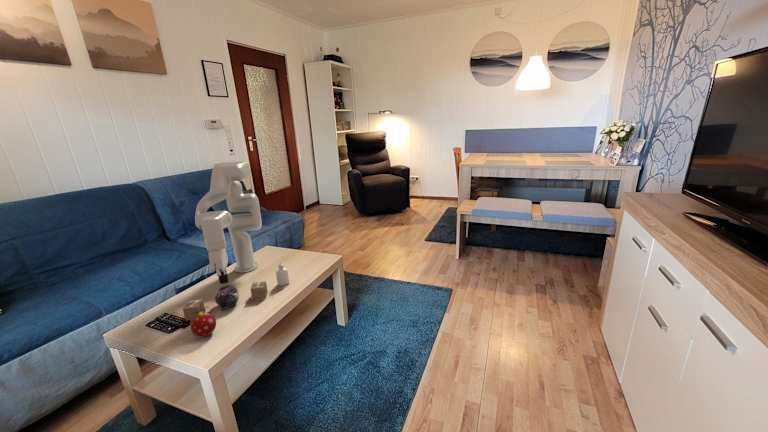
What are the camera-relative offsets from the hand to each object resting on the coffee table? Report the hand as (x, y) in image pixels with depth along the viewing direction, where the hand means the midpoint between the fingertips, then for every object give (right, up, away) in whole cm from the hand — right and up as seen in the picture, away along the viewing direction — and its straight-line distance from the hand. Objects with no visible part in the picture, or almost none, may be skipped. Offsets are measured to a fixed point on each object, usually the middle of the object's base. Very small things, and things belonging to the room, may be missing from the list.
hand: (224, 282), depth 138 cm
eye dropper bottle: (+20, -5, +20) cm, 29 cm away
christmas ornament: (+1, -17, -17) cm, 24 cm away
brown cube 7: (-10, -13, -4) cm, 17 cm away
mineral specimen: (0, -11, +3) cm, 11 cm away
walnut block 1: (+12, -8, +9) cm, 18 cm away
